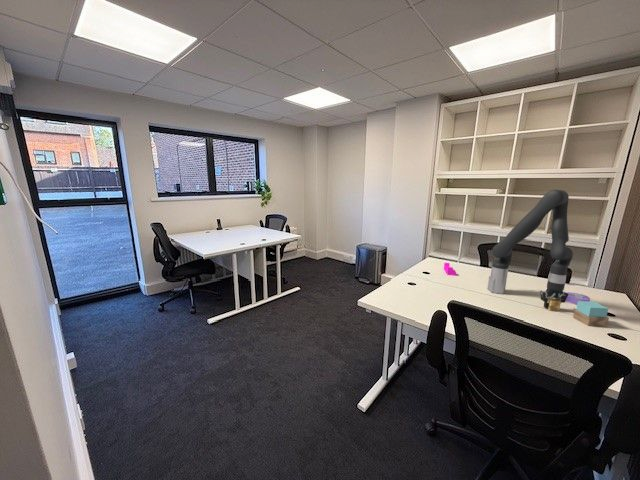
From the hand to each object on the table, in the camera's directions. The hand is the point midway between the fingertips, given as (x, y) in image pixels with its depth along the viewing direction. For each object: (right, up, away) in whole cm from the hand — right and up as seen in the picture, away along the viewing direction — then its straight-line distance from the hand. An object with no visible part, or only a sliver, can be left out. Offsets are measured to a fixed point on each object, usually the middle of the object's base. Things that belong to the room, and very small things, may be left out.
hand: (551, 308), depth 155 cm
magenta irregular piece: (-29, +12, +63) cm, 70 cm away
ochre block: (0, 0, 0) cm, 0 cm away
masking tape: (+25, +1, +11) cm, 28 cm away
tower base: (+7, -4, -15) cm, 17 cm away
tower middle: (+7, +1, -15) cm, 17 cm away
